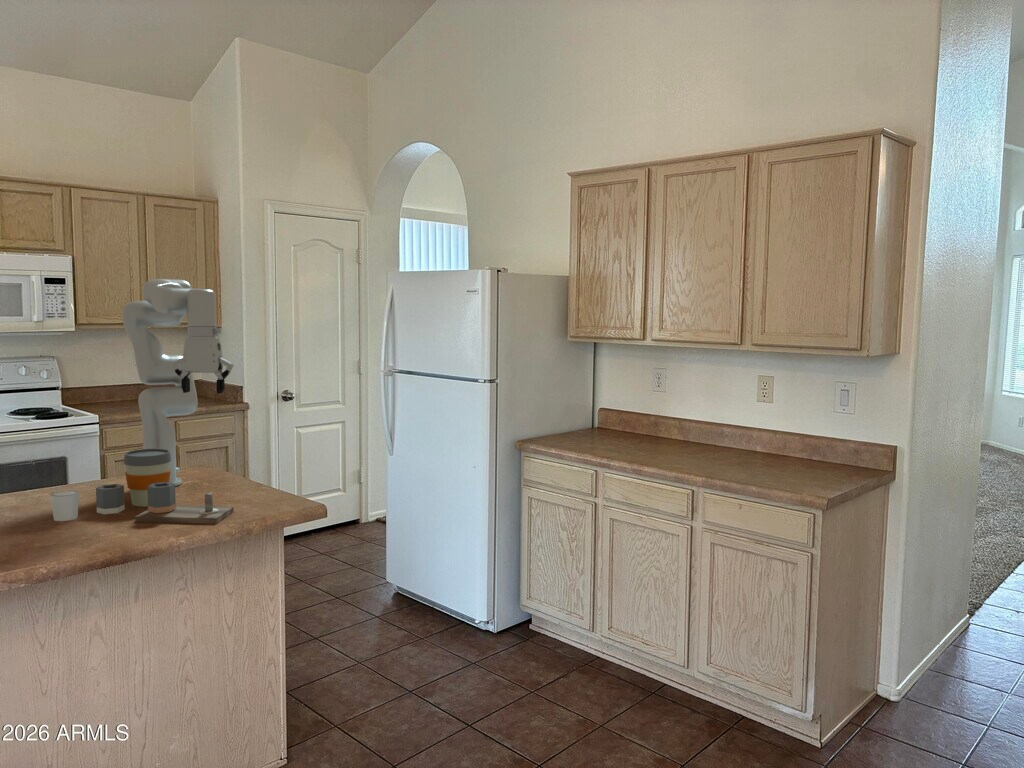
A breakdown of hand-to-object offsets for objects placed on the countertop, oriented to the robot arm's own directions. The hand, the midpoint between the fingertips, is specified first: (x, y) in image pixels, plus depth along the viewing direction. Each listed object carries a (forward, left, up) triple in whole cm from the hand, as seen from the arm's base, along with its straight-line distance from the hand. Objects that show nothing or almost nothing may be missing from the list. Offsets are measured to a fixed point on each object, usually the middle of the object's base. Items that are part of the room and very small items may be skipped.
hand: (203, 392), depth 219 cm
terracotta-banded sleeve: (+11, -7, -32) cm, 34 cm away
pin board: (+11, -1, -33) cm, 35 cm away
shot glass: (+15, -32, -34) cm, 49 cm away
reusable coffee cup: (-3, -18, -34) cm, 38 cm away
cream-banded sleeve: (+7, -24, -33) cm, 42 cm away
